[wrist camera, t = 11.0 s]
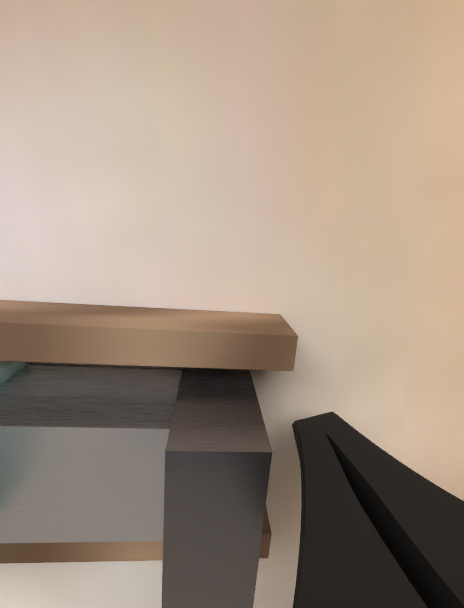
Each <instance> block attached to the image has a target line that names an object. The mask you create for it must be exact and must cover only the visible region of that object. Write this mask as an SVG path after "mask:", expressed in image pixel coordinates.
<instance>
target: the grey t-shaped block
mask: <svg viewBox="0 0 464 608" xmlns="http://www.w3.org/2000/svg"><path fill="white" fill-rule="evenodd" d="M271 456H272V451H271V447H270V443H269V440H268V436H267V432H266V429H265V425H264V421H263V418H262V414H261V410H260V407H259V403H258V399H257V396H256V392H255V388H254V385H253V381H252V377H251V374H250V370H249V369H221V368H192V367H183V368H182V370H167V369H137V368H108V367H79V366H50V365H27V366H25V367H24V368H23V369H21V370H20V371H19V372H17V373H16V374H14V375H13V376H12V377H10V378H9V379H8V380H6V381H5V382H3V383H2V384H1V385H0V543H62V542H132V541H163V577H162V608H253V601H254V593H255V585H256V577H257V569H258V561H259V553H260V545H261V537H262V529H263V521H264V513H265V504H266V496H267V488H268V480H269V472H270V464H271Z"/></svg>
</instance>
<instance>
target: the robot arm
mask: <svg viewBox="0 0 464 608" xmlns="http://www.w3.org/2000/svg"><path fill="white" fill-rule="evenodd" d="M292 427H293V432H294V436H295V441H296V445H297V450H298V454H299V459H300V466H301V488H302V510H301V533H300V548H299V559H298V568H297V578H296V587H295V595H294V602H293V608H464V501H462V500H461V499H459V498H457V497H455V496H454V495H452V494H450V493H448V492H447V491H445V490H443V489H442V488H440V487H438V486H437V485H435V484H434V483H432V482H430V481H429V480H427V479H425V478H424V477H422V476H421V475H419V474H418V473H416V472H415V471H413V470H411V469H410V468H408V467H407V466H405V465H404V464H402V463H401V462H399V461H398V460H397V459H395V458H394V457H392V456H391V455H389V454H388V453H387V452H385V451H384V450H382V449H381V448H380V447H378V446H377V445H375V444H374V443H373V442H371V441H370V440H369V439H367V438H366V437H365V436H363V435H362V434H361V433H359V432H358V431H357V430H355V429H354V428H353V427H352V426H350V425H349V424H348V423H347V422H345V421H344V420H343V419H342V418H340V417H339V416H338V415H337V414H335V413H334V412H329V413H325V414H321V415H317V416H313V417H309V418H305V419H301V420H297V421H295V422H294V423H293V425H292Z"/></svg>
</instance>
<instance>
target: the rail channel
mask: <svg viewBox="0 0 464 608" xmlns="http://www.w3.org/2000/svg"><path fill="white" fill-rule="evenodd" d="M297 338H298V336H297V334H296V333H295V332H294V331H293V329H292V328H291V327H290V326H289V325H288V323H287V322H286V321H285V320H284V319H283V317H282V316H281V315H279V314H260V313H240V312H221V311H202V310H182V309H163V308H143V307H124V306H105V305H85V304H66V303H46V302H27V301H7V300H0V361H21V362H49V363H78V364H106V365H135V366H164V367H192V368H221V369H249V370H278V371H293V368H294V361H295V353H296V346H297ZM270 540H271V530H270V525H269V520H268V514H267V509H266V504H265V513H264V521H263V529H262V537H261V545H260V553H259V558H268V555H269V547H270ZM144 560H163V541H132V542H62V543H0V563H43V562H94V561H144Z"/></svg>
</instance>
